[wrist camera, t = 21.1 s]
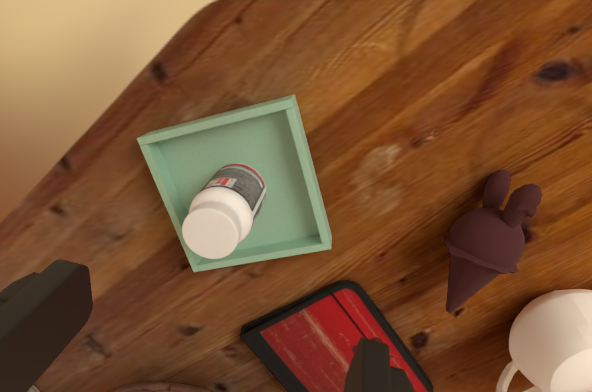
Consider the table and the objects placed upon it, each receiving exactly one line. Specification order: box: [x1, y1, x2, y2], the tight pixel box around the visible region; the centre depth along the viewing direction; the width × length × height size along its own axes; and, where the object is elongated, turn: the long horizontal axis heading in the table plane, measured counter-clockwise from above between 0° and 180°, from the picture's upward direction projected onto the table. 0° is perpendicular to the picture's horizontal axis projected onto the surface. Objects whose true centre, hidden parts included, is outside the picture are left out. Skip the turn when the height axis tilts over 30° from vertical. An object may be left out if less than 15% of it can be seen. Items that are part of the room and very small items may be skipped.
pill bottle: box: [182, 163, 266, 259], centre depth 35 cm, size 6×6×10 cm
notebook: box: [240, 281, 433, 392], centre depth 47 cm, size 16×2×21 cm
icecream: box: [444, 170, 542, 313], centre depth 36 cm, size 7×7×15 cm
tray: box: [137, 94, 332, 272], centre depth 39 cm, size 16×16×3 cm
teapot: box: [496, 289, 592, 392], centre depth 37 cm, size 20×12×10 cm, turn 131°
